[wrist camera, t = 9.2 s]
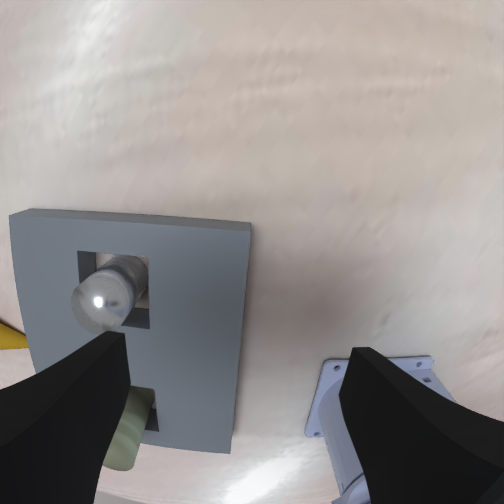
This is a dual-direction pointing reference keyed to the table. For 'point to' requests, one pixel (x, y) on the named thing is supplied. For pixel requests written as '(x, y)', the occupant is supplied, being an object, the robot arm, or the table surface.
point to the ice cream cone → (11, 339)
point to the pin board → (143, 320)
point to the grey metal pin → (109, 294)
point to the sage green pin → (130, 429)
